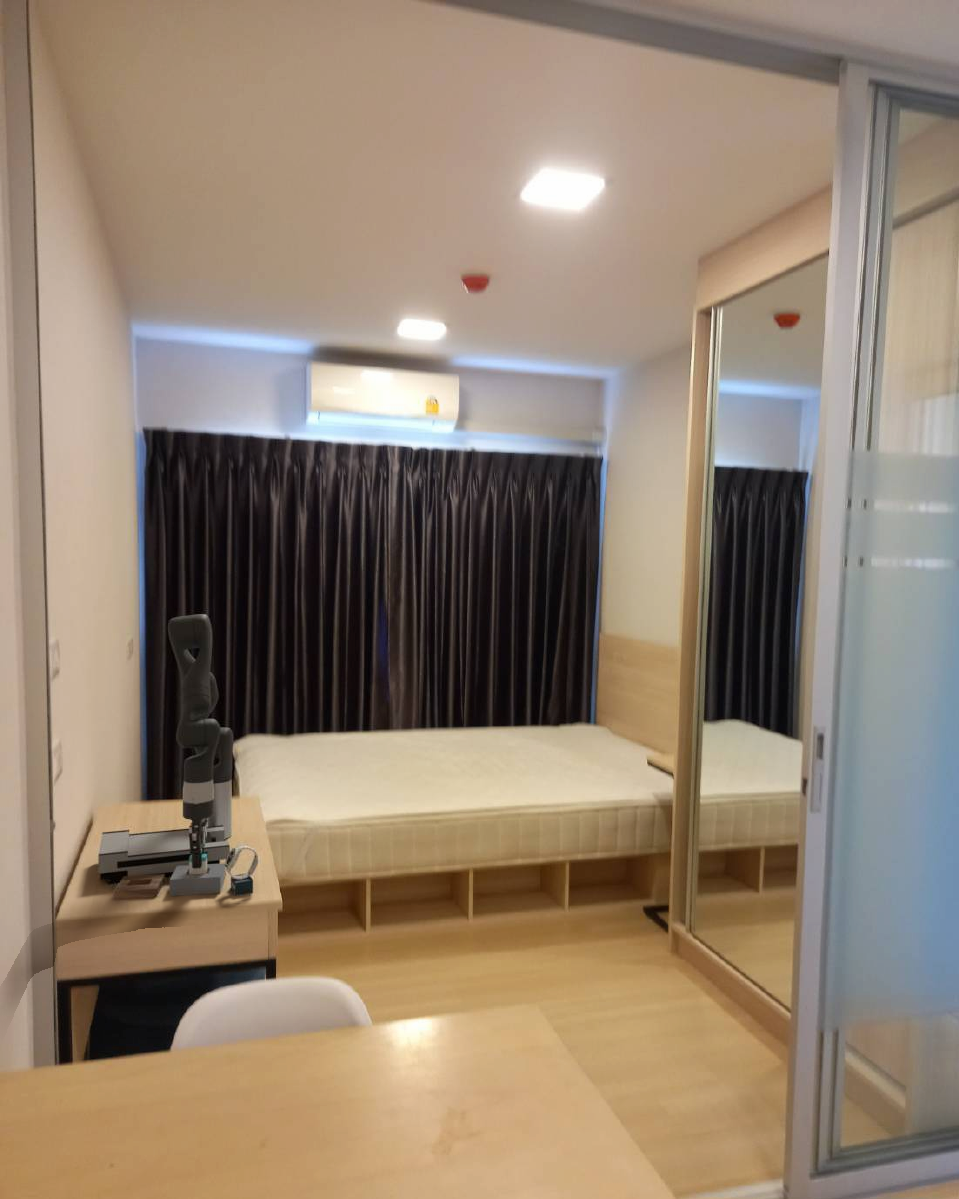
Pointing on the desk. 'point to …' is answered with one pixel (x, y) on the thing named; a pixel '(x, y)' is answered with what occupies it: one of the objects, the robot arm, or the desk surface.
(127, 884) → the brown flat square frame
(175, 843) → the game console
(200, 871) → the plug
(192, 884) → the port block
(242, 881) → the watch
